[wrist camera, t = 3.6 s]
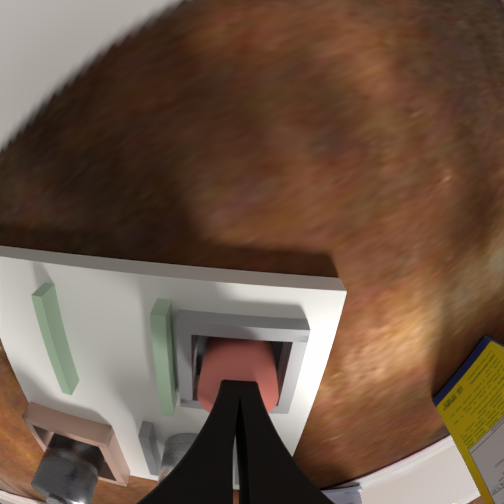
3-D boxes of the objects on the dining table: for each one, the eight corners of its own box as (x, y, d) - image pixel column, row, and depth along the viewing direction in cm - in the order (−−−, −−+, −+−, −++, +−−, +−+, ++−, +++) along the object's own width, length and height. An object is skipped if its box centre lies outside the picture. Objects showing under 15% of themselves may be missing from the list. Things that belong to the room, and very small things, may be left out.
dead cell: (99, 432, 16) (73, 505, 10) (112, 460, 17) (93, 525, 12) (49, 416, 16) (18, 481, 10) (66, 447, 17) (43, 506, 12)
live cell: (231, 436, 16) (229, 527, 10) (228, 467, 17) (226, 543, 12) (161, 428, 15) (143, 516, 10) (168, 460, 17) (155, 535, 11)
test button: (278, 331, 13) (284, 371, 11) (269, 382, 14) (272, 422, 12) (204, 325, 13) (197, 365, 11) (203, 377, 14) (197, 417, 12)
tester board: (339, 277, 13) (358, 311, 11) (277, 477, 20) (279, 505, 17) (-11, 244, 12) (-42, 264, 10) (63, 444, 19) (53, 467, 16)
